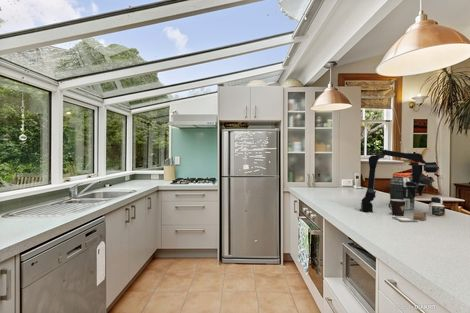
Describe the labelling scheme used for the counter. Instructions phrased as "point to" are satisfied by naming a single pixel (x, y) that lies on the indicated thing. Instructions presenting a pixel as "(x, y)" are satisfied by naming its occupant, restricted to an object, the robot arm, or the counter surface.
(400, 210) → the coffee mug
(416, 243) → the counter surface
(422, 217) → the letter block
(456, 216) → the counter surface
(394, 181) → the supplement tub
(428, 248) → the counter surface
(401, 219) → the pad
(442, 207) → the medicine bottle
